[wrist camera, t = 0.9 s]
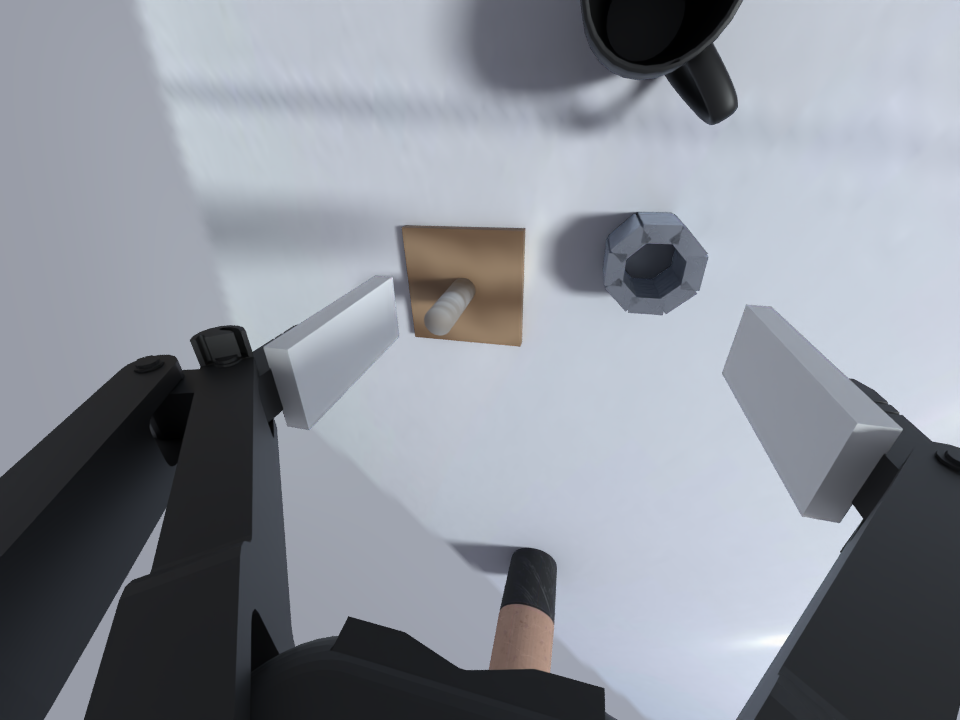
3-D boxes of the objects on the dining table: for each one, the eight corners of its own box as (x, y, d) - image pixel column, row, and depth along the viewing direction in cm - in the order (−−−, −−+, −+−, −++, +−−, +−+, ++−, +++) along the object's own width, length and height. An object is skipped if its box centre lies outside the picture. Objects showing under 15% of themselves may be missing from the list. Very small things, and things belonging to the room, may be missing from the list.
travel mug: (534, 540, 59) (511, 703, 42) (569, 569, 61) (559, 737, 44) (500, 555, 63) (467, 710, 46) (533, 582, 65) (512, 741, 48)
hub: (610, 211, 34) (612, 223, 30) (701, 213, 33) (716, 225, 28) (599, 290, 38) (600, 310, 34) (680, 294, 36) (692, 317, 32)
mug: (639, 158, 32) (654, 169, 24) (562, 6, 28) (550, -41, 20) (751, 82, 28) (815, 65, 20) (678, -105, 24) (720, -216, 16)
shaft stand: (405, 225, 39) (361, 249, 32) (525, 228, 37) (507, 255, 29) (418, 332, 45) (384, 373, 38) (521, 342, 43) (506, 388, 35)
